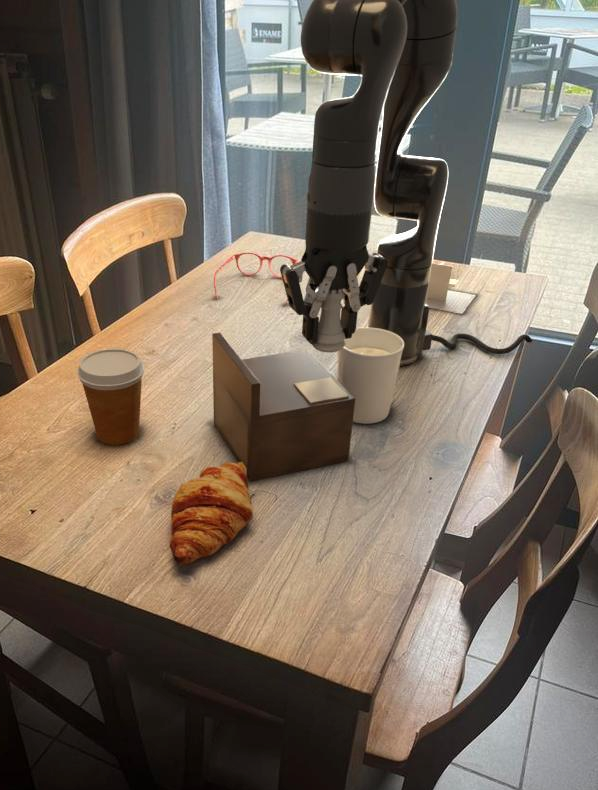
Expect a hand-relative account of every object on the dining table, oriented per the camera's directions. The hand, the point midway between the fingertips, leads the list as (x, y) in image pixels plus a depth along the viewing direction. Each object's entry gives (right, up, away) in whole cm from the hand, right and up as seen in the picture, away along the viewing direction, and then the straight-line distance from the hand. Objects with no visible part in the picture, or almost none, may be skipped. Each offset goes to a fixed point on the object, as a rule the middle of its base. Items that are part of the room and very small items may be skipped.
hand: (328, 338), depth 94 cm
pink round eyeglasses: (-7, +23, +63) cm, 67 cm away
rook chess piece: (0, -1, +1) cm, 1 cm away
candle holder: (+8, -7, +21) cm, 24 cm away
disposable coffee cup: (-30, -12, +15) cm, 35 cm away
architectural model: (+30, +20, +59) cm, 69 cm away
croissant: (-15, -24, -2) cm, 28 cm away
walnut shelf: (-6, -13, +13) cm, 19 cm away
